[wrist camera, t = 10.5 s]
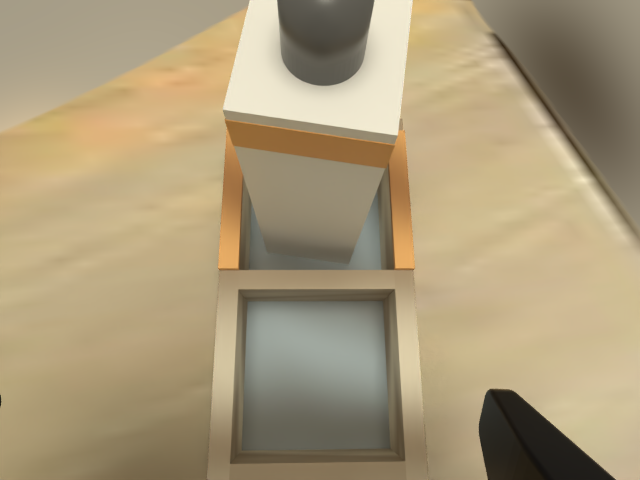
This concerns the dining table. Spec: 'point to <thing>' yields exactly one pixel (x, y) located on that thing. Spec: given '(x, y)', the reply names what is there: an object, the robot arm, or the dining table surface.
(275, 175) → the bottle
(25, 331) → the dining table surface
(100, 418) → the dining table surface
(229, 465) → the rack
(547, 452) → the robot arm
